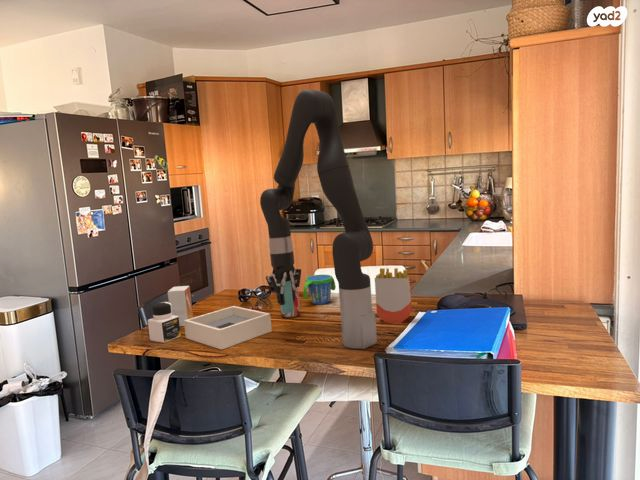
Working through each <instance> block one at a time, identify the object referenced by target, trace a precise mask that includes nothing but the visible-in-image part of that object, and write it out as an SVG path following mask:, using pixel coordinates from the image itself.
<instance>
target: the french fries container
mask: <svg viewBox="0 0 640 480" xmlns="http://www.w3.org/2000/svg"><path fill="white" fill-rule="evenodd" d="M385 269H386V270H385ZM393 269H394V270H393V271H394V276H393V272H392V271H390V267H389V268H385V267H381V268H379V273H378V274H376V275H375V277H374V287H375V288H374V289H375V290H374V291H375V307H376V315H377V316H378V317H379V318H380V319H381V320H382V321H383V322H385V323H395V324H396V323H399V324H402V323H403V322H404V321H405V320H406V319H408V318H409V317H410V315H411V314H412V311H413V310H412V308H413V307H412V297H411V296H412V295H411V287H410V286H411V285H410V278H409V275H408V269H403V271H399V269H398V268H397V267H395V268H393Z"/></svg>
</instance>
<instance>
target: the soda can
mask: <svg viewBox="0 0 640 480" xmlns="http://www.w3.org/2000/svg"><path fill="white" fill-rule="evenodd" d="M295 297H296V298H295V301H294V302H293V306H294V311H293V312H291V313H282V310H281V305H279V307H280V315H281V316H282V317H284V318H285V319H286V318H289V319H290V318H291V319H292V318H296V317H297V316H298V315H299V314H300V311H301V308H300V307H301V306H300V293H299V287H297V288H296V289H295Z"/></svg>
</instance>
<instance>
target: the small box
mask: <svg viewBox="0 0 640 480" xmlns="http://www.w3.org/2000/svg"><path fill="white" fill-rule="evenodd" d="M167 299H168V301H167V302H168V303H171V307H172V315H175V316H178V317H179V325H180V327H185V326H184V320H187V319H191V318H194V316H193V315H194V313H193V306H192V305H193V304H192V296H191V286H190V285H182V286H181V285H179V286H178V285H177V286H173V287H171V288H170V289H169V290H168V291H167Z"/></svg>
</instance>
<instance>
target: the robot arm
mask: <svg viewBox="0 0 640 480" xmlns="http://www.w3.org/2000/svg"><path fill="white" fill-rule="evenodd" d="M311 124H314V127H315V128H316V132H317V133H316V134H317V136H318V141H319V150H318V155H317V163H316V166H317V167H316V170H317V176H318V178H319V183H320V186H321V190H322V192H323V194H324V196H325V198H327V199H328V201H329V203H330V204H331V205H332V207H333V208H334V209H335V210H336V212H337V213H338V215H339V217H340V219H341V221H342V224H343V228H344V232H341V233H339V234H337V235H336V236H335V238H334V239H333V241H332V248H331V249H332V251H331V252H332V260H333V267H334V275H335V278H336V281H337V283H338V296H339V298H338V299H339V310H340V324H341V335H342V336H341V337H342V345H343V346H344V347H346V348H349V349H362V350H365V349H367V348H370V347H372V346H373V345H376V344H377V343H378V338H377V337H378V336H377V323H376V312H375V311H373V303H372V287H371V286H372V285H371V283H372V282H371V277H370V275H369V274H367V273H364V272H363V271H362V265H361V262H363V261H366V260H368V259H369V258H371V256H372V254H373V251H374V242H373V238H372V234H371V232H370V230H369V227H368V225H367V222H366V220H365V217H364V215H363V212H362V209H361V205H360V203H359V202H360V201H359V198H358V195H357V192H356V188H355V185H354V181H353V176H352V173H351V169H350V165H349V162H348V159H347V156H346V153H345V148H344V145H343V141H342V140H343V139H342V137H341V131H340V128H339V127H340V126H339V121H338V116H337V109H336V105H335V102H334V100H333V98H332V96H331V95H330V94H328V92H325V91H321V90H314V89H303V90H301V91H300V92H299V93H298V94H297V96H296V97H295V99H294V103H293V106H292V110H291V115H290V120H289V124H288V127H287V128H288V129H287V133H286V138H285V142H284V146H283V150H282V152H281V156H280V159H279V161H278V162H277V166H276V168H275V170H274V173H273V180H274V181H275V182H276V183H277V184H278V185H277V187H276V188H267V189H265V190H264V191H263V192H262V193H261V194H260V198H259V202H260V203H259V204H260V208H261V212H262V214H263V216H264V217H263V218H264V219H265V222H266V225H267V230H268V238H269V240H268V241H269V242H268V247H269V256H270V265H271V267H272V272H271V274H270V275H266V276H265V280H266V283H267V284H268V287H269V289H270V292H271V293H272V294H276V299H277V300H276V301H277V304H278V305H279V306H280V305H285V301H284V294H283V290H284V286H285V282H287V281H291V287H292V296H293V302H294V301H295V298H296V297H295V289H296V288H297V287H298V288H299V287H300V283H301V278H302V277H301V276H302V269H301V268H295V266H294V264H295V255H294V254H295V252H294V245H293V240H292V232H291V225H290V223H291V222H290V220H289V219H288V218H286V217H283V216H282V214H281V212H280V211H284V210H287V209H288V208H289V207H290V205H292V202H293V201H294V200H293V199H294V197H295V196H294V195H295V188H296V182H297V178H298V177H299V175H300V172H301V170H302V167H303V163H304V156H305V155H304V142H305V138H306V134H307V132H308V129H309V127H310V126H311ZM279 282H280V283H281V284H279ZM279 286H280V288H279ZM279 289H280V290H279Z"/></svg>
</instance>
